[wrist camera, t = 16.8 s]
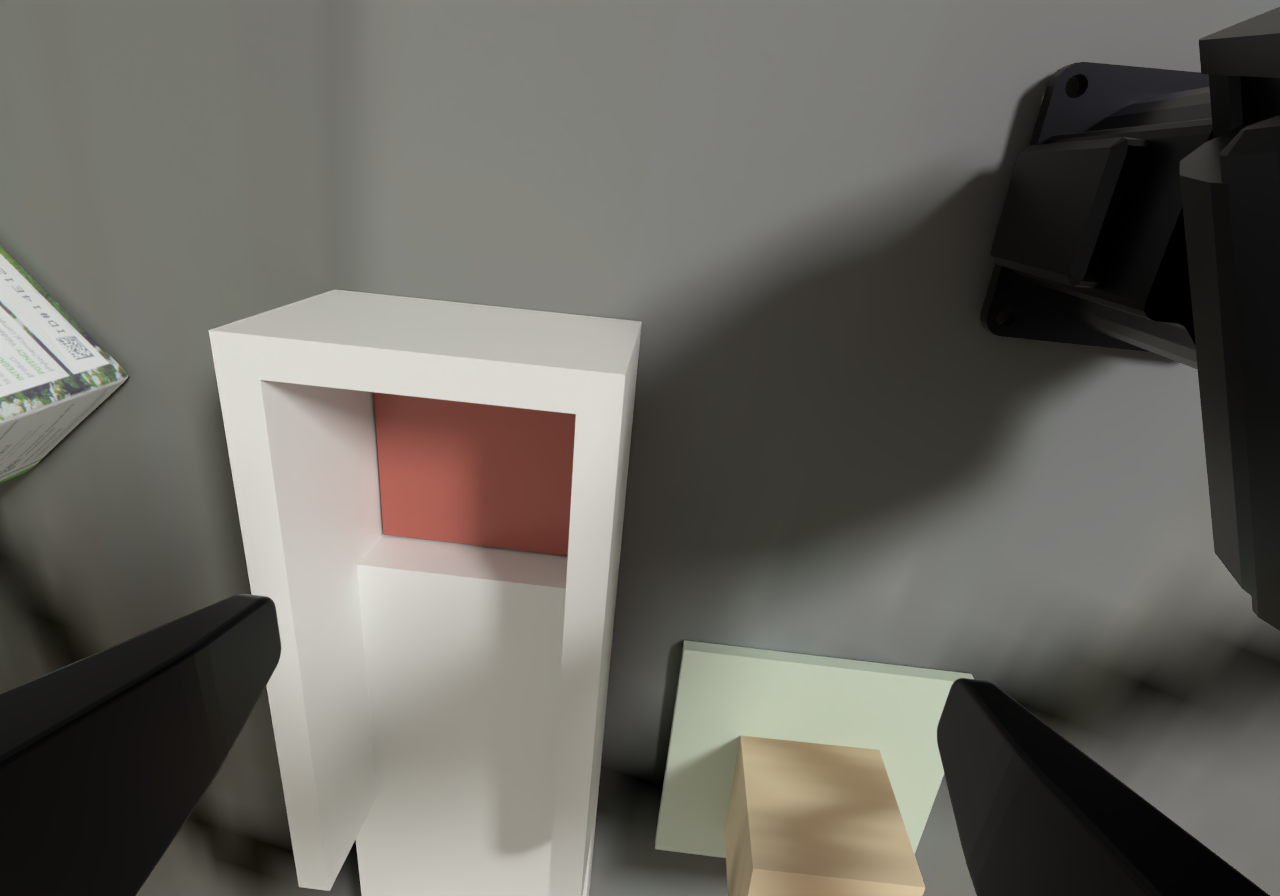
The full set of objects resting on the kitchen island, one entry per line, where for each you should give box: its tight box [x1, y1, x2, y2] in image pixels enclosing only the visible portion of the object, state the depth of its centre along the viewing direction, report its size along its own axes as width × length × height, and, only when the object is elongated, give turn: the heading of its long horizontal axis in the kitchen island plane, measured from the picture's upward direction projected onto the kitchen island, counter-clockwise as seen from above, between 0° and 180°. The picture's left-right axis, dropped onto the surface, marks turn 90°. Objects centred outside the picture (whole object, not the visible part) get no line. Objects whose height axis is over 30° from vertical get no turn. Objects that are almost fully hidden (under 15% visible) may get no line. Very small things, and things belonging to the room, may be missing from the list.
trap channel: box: [209, 290, 642, 896], centre depth 22 cm, size 9×27×6 cm, turn 175°
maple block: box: [724, 736, 925, 896], centre depth 23 cm, size 5×5×5 cm
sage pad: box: [655, 640, 974, 858], centre depth 25 cm, size 10×10×1 cm
